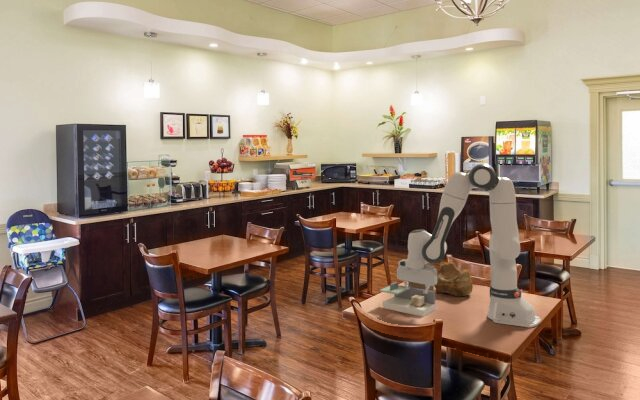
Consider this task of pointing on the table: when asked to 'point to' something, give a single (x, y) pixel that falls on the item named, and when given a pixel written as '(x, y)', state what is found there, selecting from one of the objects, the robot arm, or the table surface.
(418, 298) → the birch block
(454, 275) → the rough brown rock
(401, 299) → the puzzle board
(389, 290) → the slide lid
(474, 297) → the table surface
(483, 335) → the table surface
